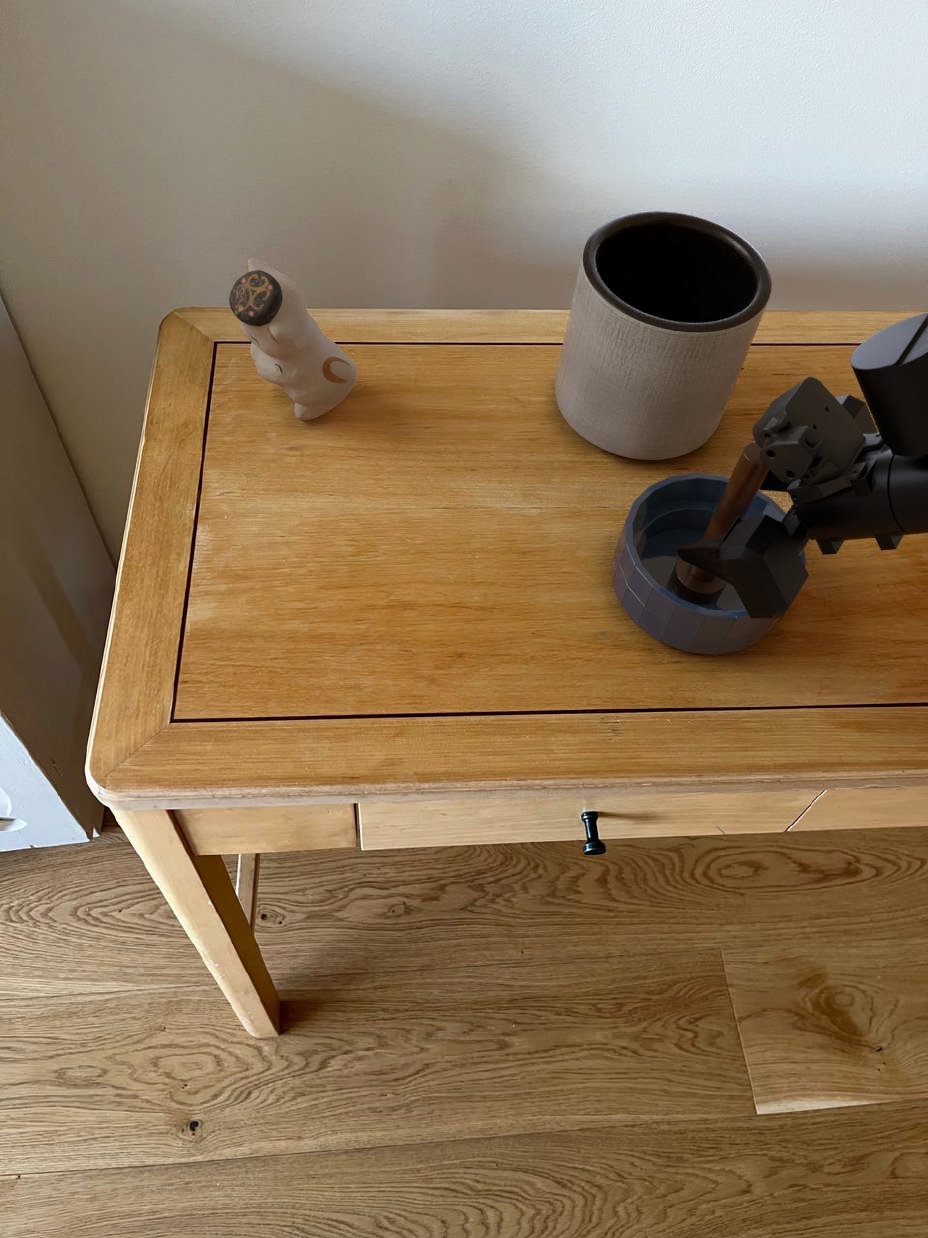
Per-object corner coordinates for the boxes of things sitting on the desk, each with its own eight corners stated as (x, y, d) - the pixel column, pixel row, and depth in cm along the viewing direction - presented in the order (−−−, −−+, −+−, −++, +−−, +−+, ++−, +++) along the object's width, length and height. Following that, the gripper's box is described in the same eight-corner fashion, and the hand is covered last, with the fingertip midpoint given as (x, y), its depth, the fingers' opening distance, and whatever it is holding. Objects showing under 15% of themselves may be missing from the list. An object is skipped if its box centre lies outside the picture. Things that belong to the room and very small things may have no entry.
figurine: (247, 376, 88) (223, 235, 75) (353, 370, 89) (347, 230, 76) (251, 444, 83) (226, 307, 70) (363, 436, 84) (358, 299, 72)
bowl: (739, 508, 83) (762, 463, 78) (806, 642, 76) (835, 601, 70) (588, 531, 80) (602, 485, 75) (642, 671, 73) (661, 631, 68)
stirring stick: (711, 557, 79) (775, 426, 66) (730, 599, 77) (801, 472, 63) (663, 565, 78) (718, 433, 65) (681, 608, 76) (742, 480, 63)
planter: (752, 428, 88) (815, 292, 75) (622, 492, 83) (665, 357, 70) (646, 328, 95) (687, 187, 82) (519, 382, 90) (541, 240, 77)
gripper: (918, 304, 60) (717, 360, 73) (802, 473, 52) (596, 505, 64) (970, 445, 65) (773, 476, 77) (872, 623, 56) (667, 626, 68)
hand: (707, 515), depth 71 cm, fingers open, 9 cm apart
